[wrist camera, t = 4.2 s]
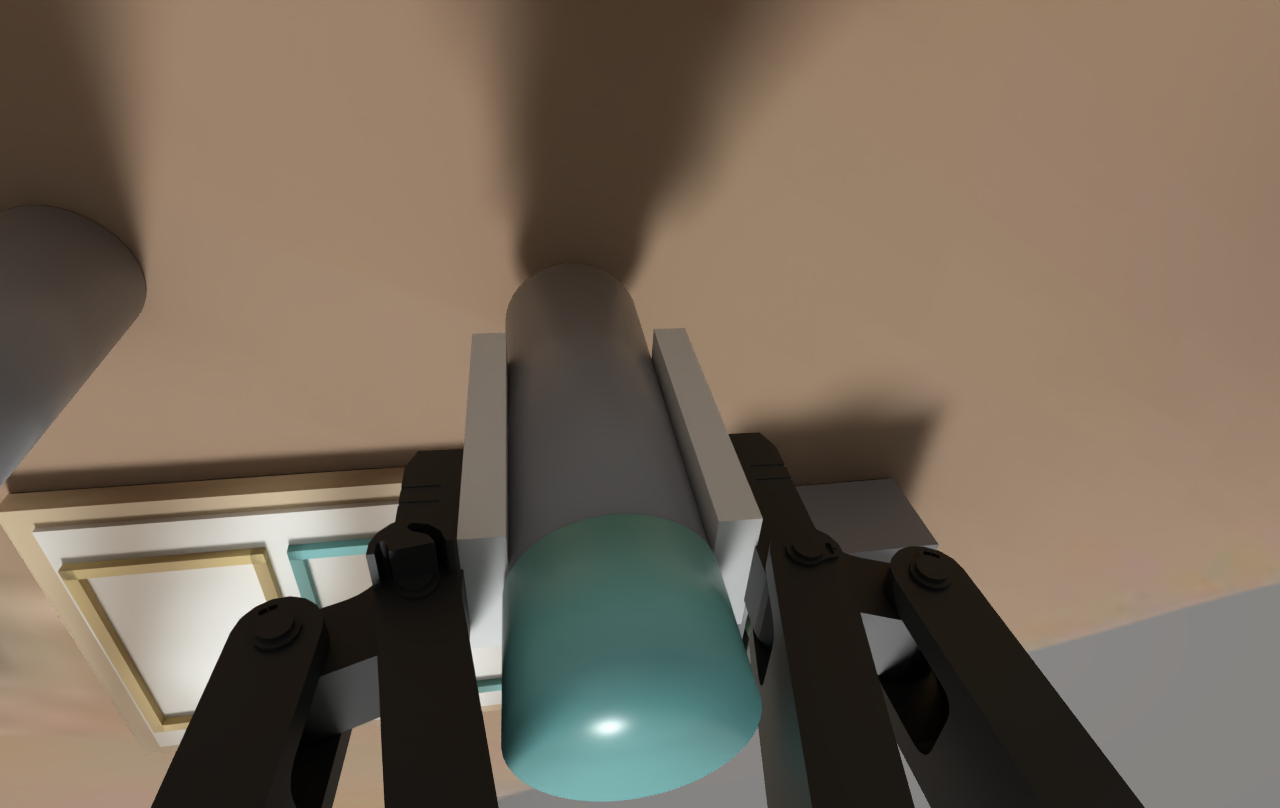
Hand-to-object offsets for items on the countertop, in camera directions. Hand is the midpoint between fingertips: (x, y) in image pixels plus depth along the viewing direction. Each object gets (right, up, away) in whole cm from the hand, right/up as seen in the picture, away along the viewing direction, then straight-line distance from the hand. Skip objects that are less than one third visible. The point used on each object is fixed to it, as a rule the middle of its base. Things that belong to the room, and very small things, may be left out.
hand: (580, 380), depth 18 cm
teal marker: (0, +2, +2) cm, 3 cm away
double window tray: (-9, -8, +9) cm, 15 cm away
